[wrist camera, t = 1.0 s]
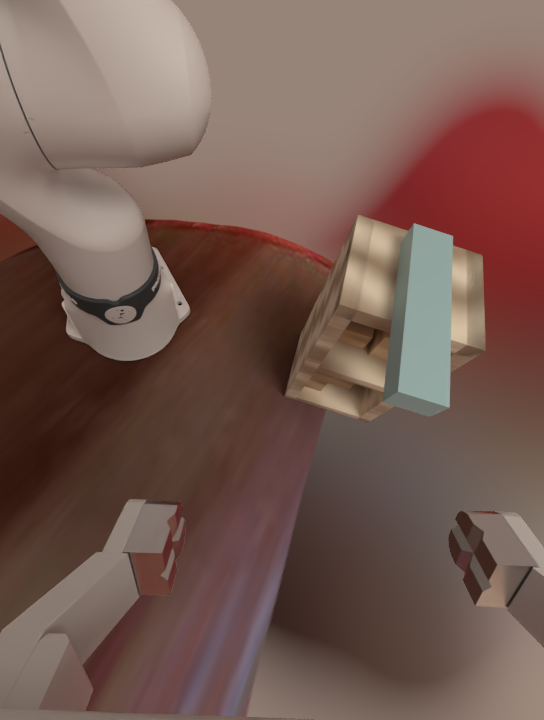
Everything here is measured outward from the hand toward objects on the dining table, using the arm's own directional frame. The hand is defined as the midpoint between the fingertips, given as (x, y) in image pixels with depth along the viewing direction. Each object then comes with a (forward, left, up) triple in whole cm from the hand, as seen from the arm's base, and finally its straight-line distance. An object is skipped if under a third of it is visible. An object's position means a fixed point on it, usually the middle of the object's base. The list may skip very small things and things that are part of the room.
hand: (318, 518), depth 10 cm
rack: (-15, +21, -39) cm, 47 cm away
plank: (-11, +18, -13) cm, 25 cm away
